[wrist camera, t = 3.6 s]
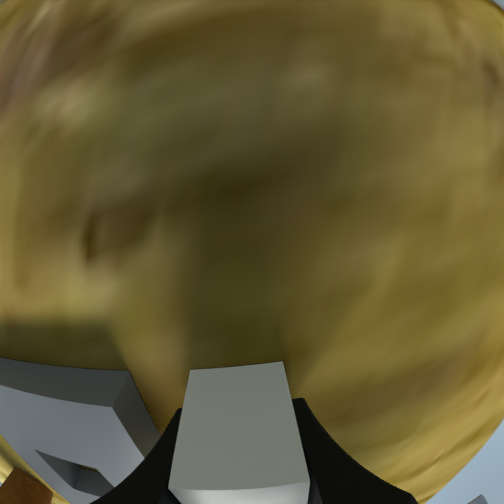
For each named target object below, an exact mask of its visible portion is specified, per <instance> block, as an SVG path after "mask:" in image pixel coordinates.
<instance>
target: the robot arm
mask: <svg viewBox="0 0 504 504" xmlns="http://www.w3.org/2000/svg"><path fill="white" fill-rule="evenodd" d="M291 400H292V404H293V408H294V413H295V417H296V421H297V426H298V430H299V435H300V439H301V443H302V448H303V452H304V457H305V461H306V465H307V470H308V474H309V479H310V486H309V494H308V502H307V504H418V502H417V501H416V499H415V498H414V497H413V496H412V494H410V493H408V492H406V491H404V490H401V489H399V488H397V487H395V486H393V485H391V484H389V483H387V482H386V481H384V480H382V479H380V478H379V477H377V476H376V475H374V474H373V473H371V472H370V471H368V470H367V469H365V468H364V467H363V466H361V465H360V464H359V463H358V462H356V461H355V460H354V459H353V458H352V457H350V456H349V455H348V454H347V453H346V452H345V451H344V450H343V449H342V448H341V447H340V446H339V445H338V444H337V443H336V442H335V441H334V440H333V439H332V438H331V436H330V435H329V434H328V433H327V432H326V430H325V429H324V428H323V427H322V425H321V424H320V423H319V421H318V420H317V419H316V417H315V416H314V414H313V413H312V411H311V410H310V408H309V406H308V405H307V403H306V401H305V399H304V398H296V399H291ZM181 413H182V408H178V409H177V411H176V412H175V414H174V416H173V418H172V419H171V421H170V423H169V424H168V426H167V428H166V429H165V431H164V432H163V434H162V435H161V437H160V438H159V440H158V441H157V443H156V444H155V446H154V447H153V448H152V450H151V451H150V452H149V453H148V455H147V456H146V457H145V458H144V460H143V461H142V462H141V463H140V464H139V465H138V466H137V467H136V469H135V470H134V471H133V472H132V473H131V474H130V475H128V476H127V477H126V478H125V479H124V480H123V481H122V482H121V483H119V484H118V485H117V486H116V487H114V488H113V489H112V490H110V491H109V492H107V493H106V494H105V495H103V496H102V497H100V498H98V499H97V500H95V501H93V502H91V503H89V504H181V502H180V501H179V500H178V499H177V498H176V497H175V496H174V494H173V493H172V492H171V491H170V490H169V489H168V486H169V480H170V474H171V468H172V462H173V456H174V451H175V445H176V440H177V434H178V429H179V424H180V419H181ZM468 504H488V503H487V501H486V499H485V498H484V496H483V495H480V496H478V497H477V498H475V499H474V500H473V501H471V502H469V503H468Z"/></svg>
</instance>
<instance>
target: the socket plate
mask: <svg viewBox="0 0 504 504" xmlns="http://www.w3.org/2000/svg"><path fill="white" fill-rule="evenodd" d="M0 434H1V435H2V436H3V437H4V438H5V440H6V441H7V442H8V443H9V444H10V446H11V447H12V448H13V449H14V450H15V451H16V452H17V454H18V455H19V456H20V457H21V458H22V459H23V460H24V461H25V462H26V463H27V464H28V465H29V466H30V467H31V468H32V469H33V470H34V471H35V472H36V473H37V474H38V475H39V476H40V477H41V478H42V479H43V480H44V481H45V482H46V483H47V484H48V485H50V486H51V487H52V488H53V489H54V490H55V491H56V492H58V493H59V494H60V495H61V496H62V497H64V498H65V499H66V500H67V501H69V502H70V503H71V504H89V503H91V502H93V501H95V500H97V499H98V498H100V497H102V496H103V495H105V494H106V493H107V492H109V491H110V490H112V489H113V488H114V487H116V486H117V485H118V484H119V483H121V482H122V481H123V480H124V479H125V478H126V477H127V476H128V475H130V474H131V473H132V472H133V471H134V470H135V469H136V467H137V466H138V465H139V464H140V463H141V462H142V461H143V460H144V458H145V457H146V456H147V455H148V453H149V452H150V451H151V450H152V448H153V447H154V446H155V444H156V443H157V441H158V440H159V438H160V437H161V436H160V434H159V432H158V430H157V428H156V426H155V424H154V423H153V421H152V419H151V417H150V415H149V413H148V411H147V409H146V407H145V405H144V403H143V401H142V399H141V396H140V394H139V392H138V390H137V388H136V386H135V383H134V381H133V379H132V377H131V374H130V372H129V371H118V370H96V369H82V368H70V367H60V366H52V365H43V364H36V363H29V362H23V361H17V360H11V359H6V358H1V357H0ZM78 464H80V465H84V466H88V467H92V468H96V469H97V470H98V471H99V472H100V473H99V472H95V471H91V470H87V469H83V468H81V467H80V466H79V465H78Z"/></svg>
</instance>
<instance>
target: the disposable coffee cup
mask: <svg viewBox="0 0 504 504" xmlns="http://www.w3.org/2000/svg"><path fill="white" fill-rule="evenodd" d="M52 496H53V493H52V492H51V491H50V490H49V489H48V488H46V487H45V486H44V485H43V484H41V483H40V482H39V481H37V480H36V479H34V478H33V477H32V476H30V475H28V474H27V473H25V472H23V471H22V470H20V469H17V468H14V470H13V471H12V472H11V473H10V475H9V476H8V477H7V479H6V480H5V481H4V483H3V484H2V485H1V487H0V504H51V501H52Z"/></svg>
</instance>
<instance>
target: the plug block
mask: <svg viewBox="0 0 504 504" xmlns="http://www.w3.org/2000/svg"><path fill="white" fill-rule="evenodd" d="M309 486H310V479H309V474H308V470H307V465H306V461H305V457H304V452H303V448H302V443H301V439H300V435H299V430H298V426H297V421H296V417H295V413H294V408H293V404H292V400H291V395H290V391H289V387H288V382H287V378H286V374H285V369H284V365H283V361H280V362H273V363H265V364H256V365H247V366H237V367H226V368H213V369H197V370H190V374H189V379H188V384H187V388H186V393H185V398H184V403H183V408H182V413H181V419H180V424H179V429H178V434H177V440H176V445H175V451H174V456H173V462H172V468H171V474H170V480H169V486H168V489H169V490H170V491H171V492H172V493H173V494H174V496H175V497H176V498H177V499H178V500H179V501H180V502H181V504H307V502H308V494H309Z"/></svg>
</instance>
